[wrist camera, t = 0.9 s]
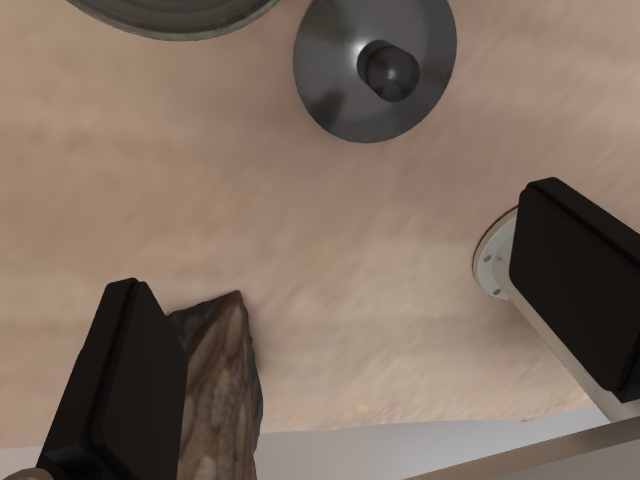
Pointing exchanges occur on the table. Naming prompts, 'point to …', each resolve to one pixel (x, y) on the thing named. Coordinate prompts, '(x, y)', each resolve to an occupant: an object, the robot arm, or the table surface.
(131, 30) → the coffee can
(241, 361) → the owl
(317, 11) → the lid
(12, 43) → the table surface
